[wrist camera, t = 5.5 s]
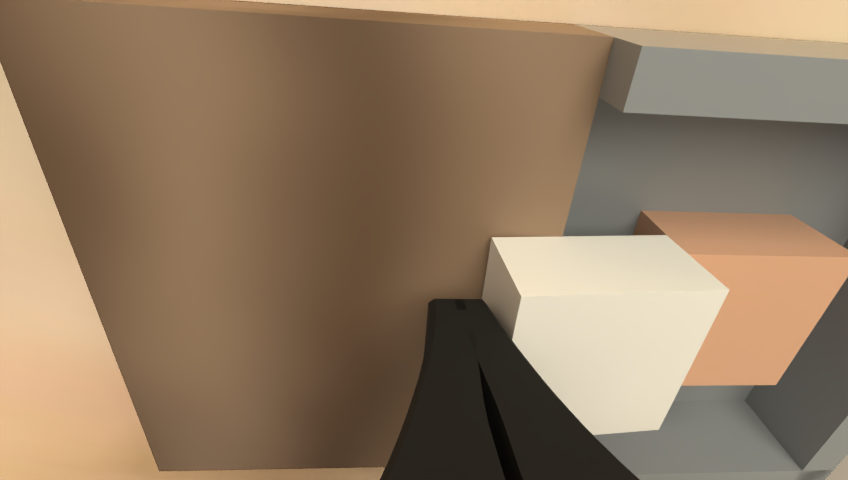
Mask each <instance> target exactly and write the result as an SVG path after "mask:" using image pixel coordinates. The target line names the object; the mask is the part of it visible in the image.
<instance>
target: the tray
mask: <svg viewBox="0 0 848 480" xmlns="http://www.w3.org/2000/svg"><path fill="white" fill-rule="evenodd" d="M574 25H577V24H574ZM578 26H581V27H584V28H587V29H590V30H593V31H597V32H600V33H603V34H606V35H609V36H612V37H614V40H613V44H612V48H611V52H610V56H609V60H608V63H607V67H606V71H605V75H604V79H603V83H602V87H601V90H600V94H599V98H598V102H597V106H596V110H595V113H594V117H593V121H592V125H591V129H590V133H589V137H588V140H587V144H586V148H585V152H584V156H583V160H582V164H581V167H580V171H579V175H578V179H577V183H576V187H575V190H574V194H573V198H572V202H571V206H570V210H569V214H568V217H567V221H566V225H565V229H564V233H563V236H632V235H633V233H634V230H635V227H636V225H637V222H638V219H639V216H640V213H641V210H643V211H679V212H715V213H751V214H787V215H793V216H794V217H796V218H797V219H799V220H801V221H802V222H804V223H805V224H807V225H809V226H810V227H812V228H814V229H815V230H817V231H818V232H820V233H822V234H823V235H825V236H826V237H828V238H830V239H831V240H833V241H835V242H836V243H838V244H839V245H841V246H843V247H844V248H846V249H847V250H848V43H835V42H820V41H806V40H792V39H778V38H763V37H749V36H735V35H720V34H706V33H692V32H677V31H663V30H649V29H634V28H620V27H606V26H591V25H578ZM594 436H595V437H596V439H597V440H599V441H600V442H601V443H602V444H603V445H604V446H605V447H606V448H607V449H608V450H609V451H610V452H611V453H612V454H613V455H614V456H615V457H616V458H617V459H618V460H619V461H620V462H621V463H622V464H623V465H624V466H625V467H627V468H628V469H629V470H630V471H631V472H632V473H633V474H634V475H635V476H636V477H637V478H638V479H640V480H825V479H826V478H827V477H828V476H829V474H831V472H832V471H833V470H834V469H835V468H836V467H837V466H838V464H839V463H840V462H841V461H842V460H843V459H844V458H845V457H846V455H847V454H848V277H847V279H846V280H845V282H844V283H843V285H842V286H841V288H840V289H839V291H838V292H837V294H836V295H835V297H834V298H833V300H832V301H831V303H830V304H829V306H828V307H827V309H826V310H825V312H824V313H823V315H822V316H821V318H820V319H819V321H818V322H817V324H816V325H815V327H814V328H813V330H812V331H811V333H810V334H809V336H808V337H807V339H806V340H805V342H804V343H803V345H802V346H801V348H800V349H799V351H798V352H797V354H796V356H795V357H794V359H793V360H792V362H791V363H790V365H789V366H788V368H787V369H786V371H785V372H784V374H783V375H782V377H781V378H780V380H779V381H778V383H777V384H776V385H711V386H681V387H680V389H679V391H678V393H677V395H676V397H675V399H674V401H673V403H672V405H671V407H670V409H669V411H668V413H667V415H666V416H665V418H664V420H663V422H662V424H661V426H660V428H659V430H649V431H637V432H625V433H612V434H600V435H594Z"/></svg>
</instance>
